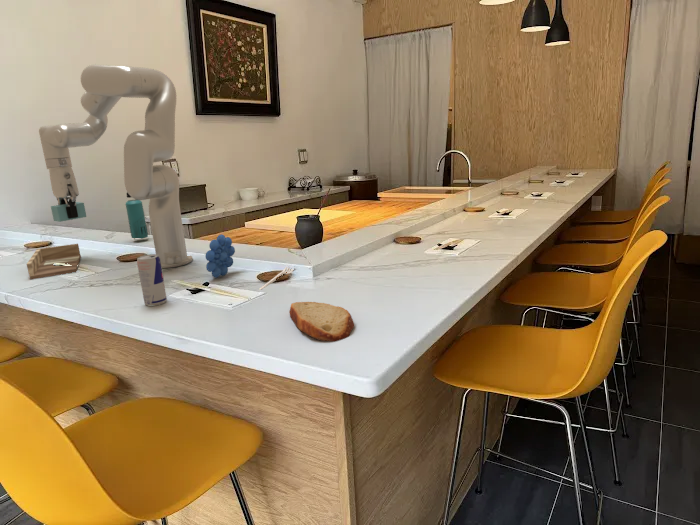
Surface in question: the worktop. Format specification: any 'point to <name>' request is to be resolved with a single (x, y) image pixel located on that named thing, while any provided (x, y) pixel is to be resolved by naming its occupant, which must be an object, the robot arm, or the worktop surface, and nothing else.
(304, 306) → the bread slice
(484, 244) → the worktop surface
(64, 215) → the teal block
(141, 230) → the beverage bottle
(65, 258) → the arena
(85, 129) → the robot arm
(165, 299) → the energy drink
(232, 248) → the grapes
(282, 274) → the fork
